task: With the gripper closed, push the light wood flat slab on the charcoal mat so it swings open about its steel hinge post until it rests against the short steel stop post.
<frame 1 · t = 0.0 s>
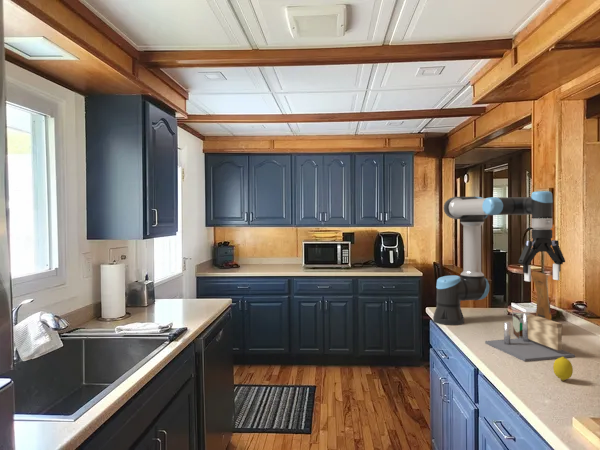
hand: (541, 280, 178), 28 cm above the worktop, tool pointing down, fingers open, 13 cm apart
light wood flat slab: (544, 331, 175), point 8 cm above the worktop, hinge at 0.0°
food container: (523, 337, 194), on the worktop
mat: (527, 349, 176), on the worktop
lemon: (562, 381, 143), on the worktop
pancake mix bag: (542, 331, 204), on the worktop
gate posts: (526, 343, 185), resting on mat
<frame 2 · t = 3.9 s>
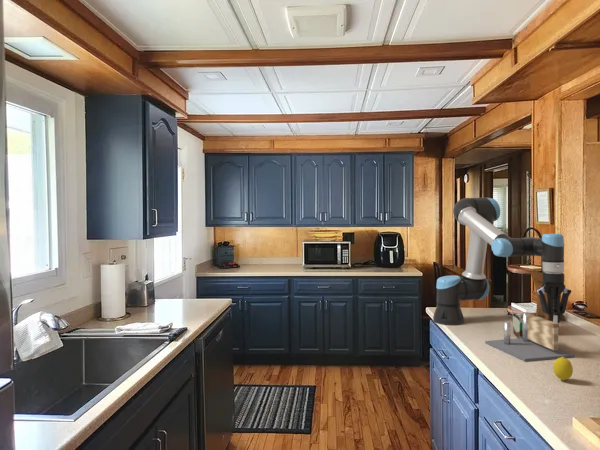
hand: (554, 331, 173), 8 cm above the worktop, tool pointing down, fingers closed
light wood flat slab: (542, 331, 175), point 8 cm above the worktop, hinge at -5.0°, touching gripper
everything else where it was.
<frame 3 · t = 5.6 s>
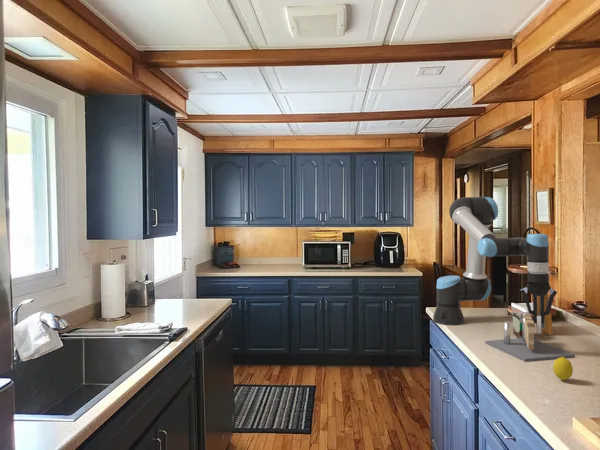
hand: (538, 331, 172), 8 cm above the worktop, tool pointing down, fingers closed
light wood flat slab: (529, 331, 176), point 8 cm above the worktop, hinge at -34.1°, touching gripper
everything else where it was.
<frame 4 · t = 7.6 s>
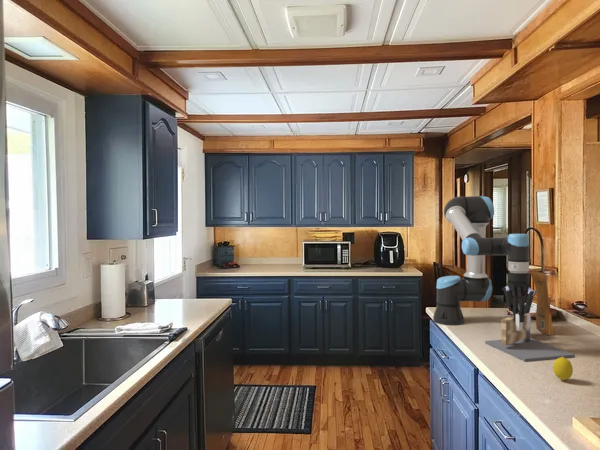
hand: (519, 329, 175), 8 cm above the worktop, tool pointing down, fingers closed
light wood flat slab: (514, 329, 179), point 8 cm above the worktop, hinge at -66.2°, touching gripper
everything else where it was.
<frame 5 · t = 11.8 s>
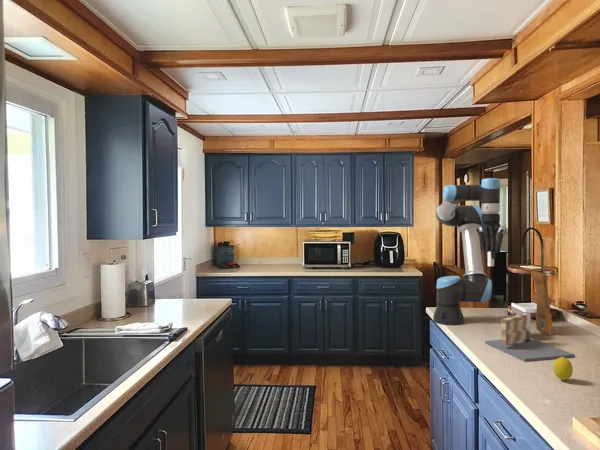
hand: (490, 266, 192), 32 cm above the worktop, tool pointing down, fingers closed
light wood flat slab: (514, 329, 179), point 8 cm above the worktop, hinge at -66.3°
everything else where it was.
at the end: light wood flat slab at -66° (first picture: +0°); the gripper is holding nothing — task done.
